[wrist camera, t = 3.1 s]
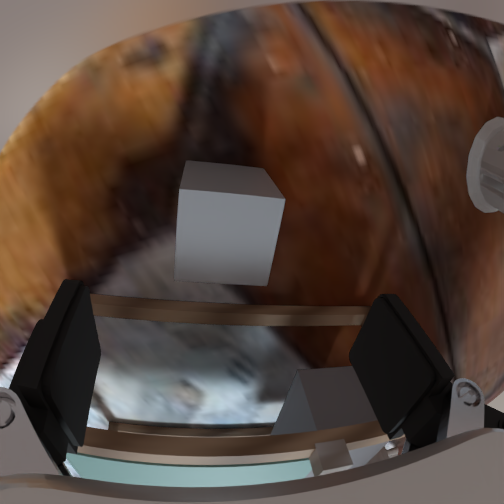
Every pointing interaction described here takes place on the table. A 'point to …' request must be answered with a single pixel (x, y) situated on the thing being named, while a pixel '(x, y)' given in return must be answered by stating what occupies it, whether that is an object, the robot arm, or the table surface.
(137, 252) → the table surface
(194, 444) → the stand
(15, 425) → the robot arm
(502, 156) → the french press
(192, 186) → the smooth gray block
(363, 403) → the hatch door
